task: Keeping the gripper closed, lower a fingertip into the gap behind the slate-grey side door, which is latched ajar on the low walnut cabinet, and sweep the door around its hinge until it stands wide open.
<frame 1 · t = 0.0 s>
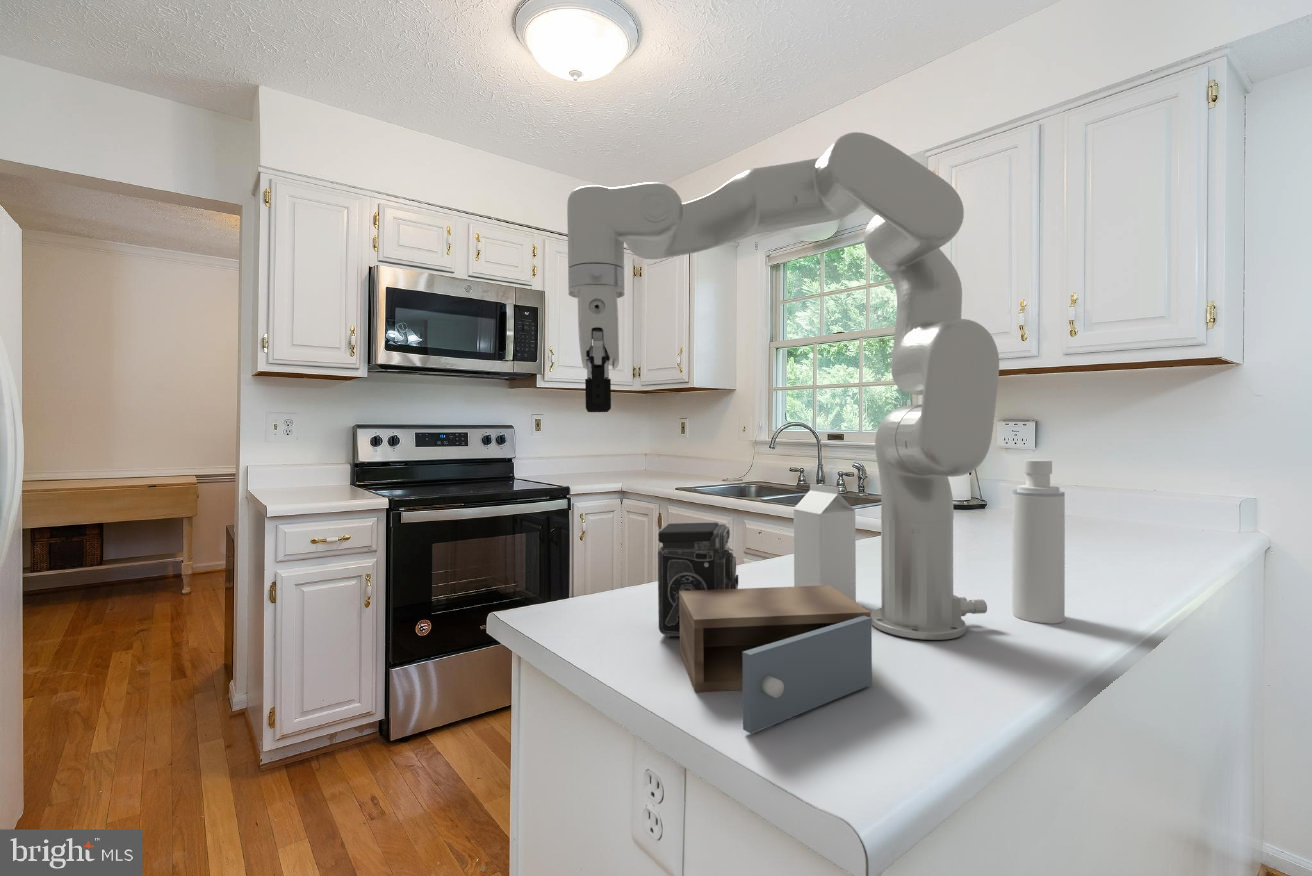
hand: (598, 411, 85), 31 cm above the counter, fingers open, 9 cm apart
side door: (817, 671, 64), point 4 cm above the counter, hinge at 30.0°
spray bottle: (1037, 618, 94), on the counter
camera: (700, 633, 89), on the counter
milk carton: (824, 601, 105), on the counter
cabinet: (769, 667, 76), on the counter
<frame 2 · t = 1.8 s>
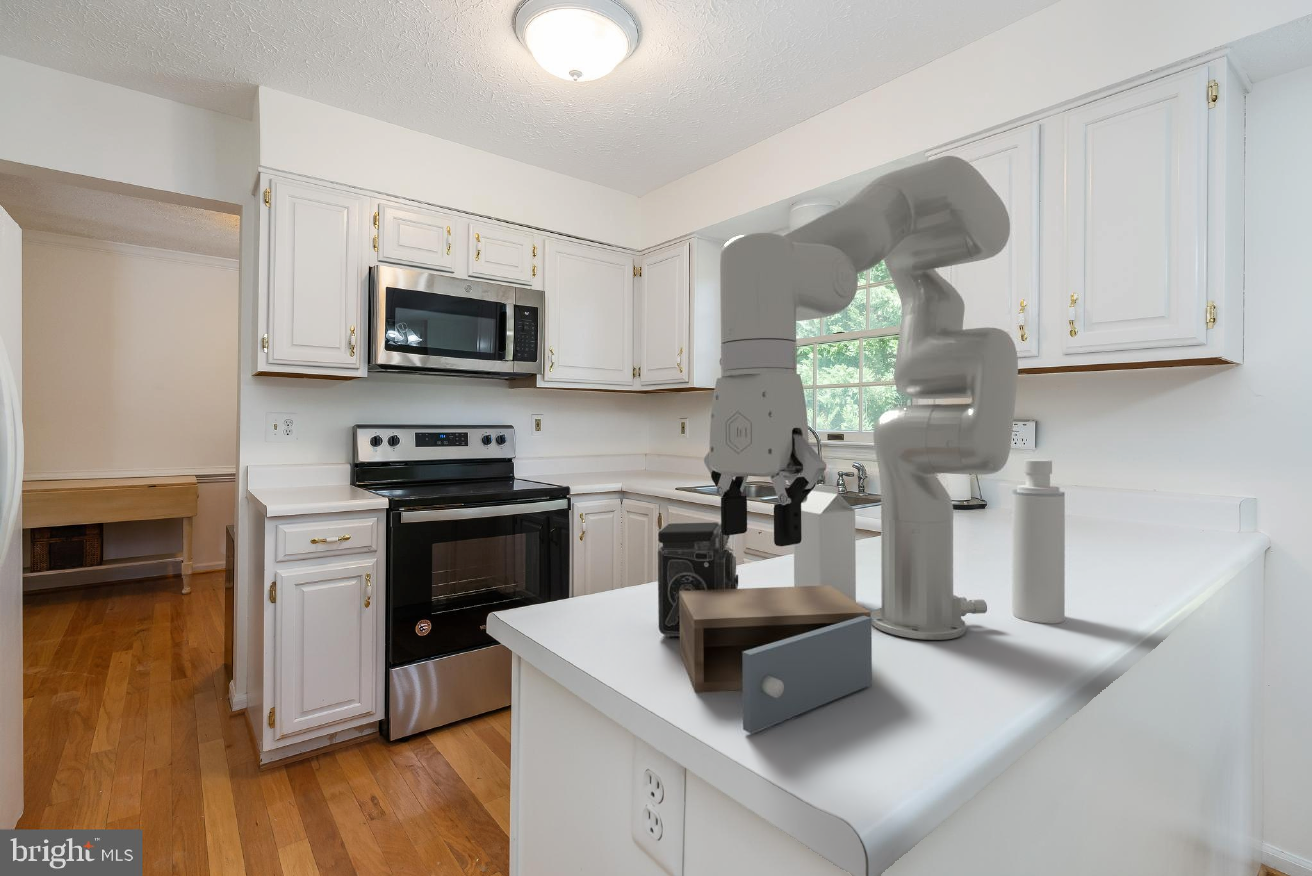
hand: (759, 537, 64), 18 cm above the counter, fingers open, 6 cm apart
nothing on the counter moved.
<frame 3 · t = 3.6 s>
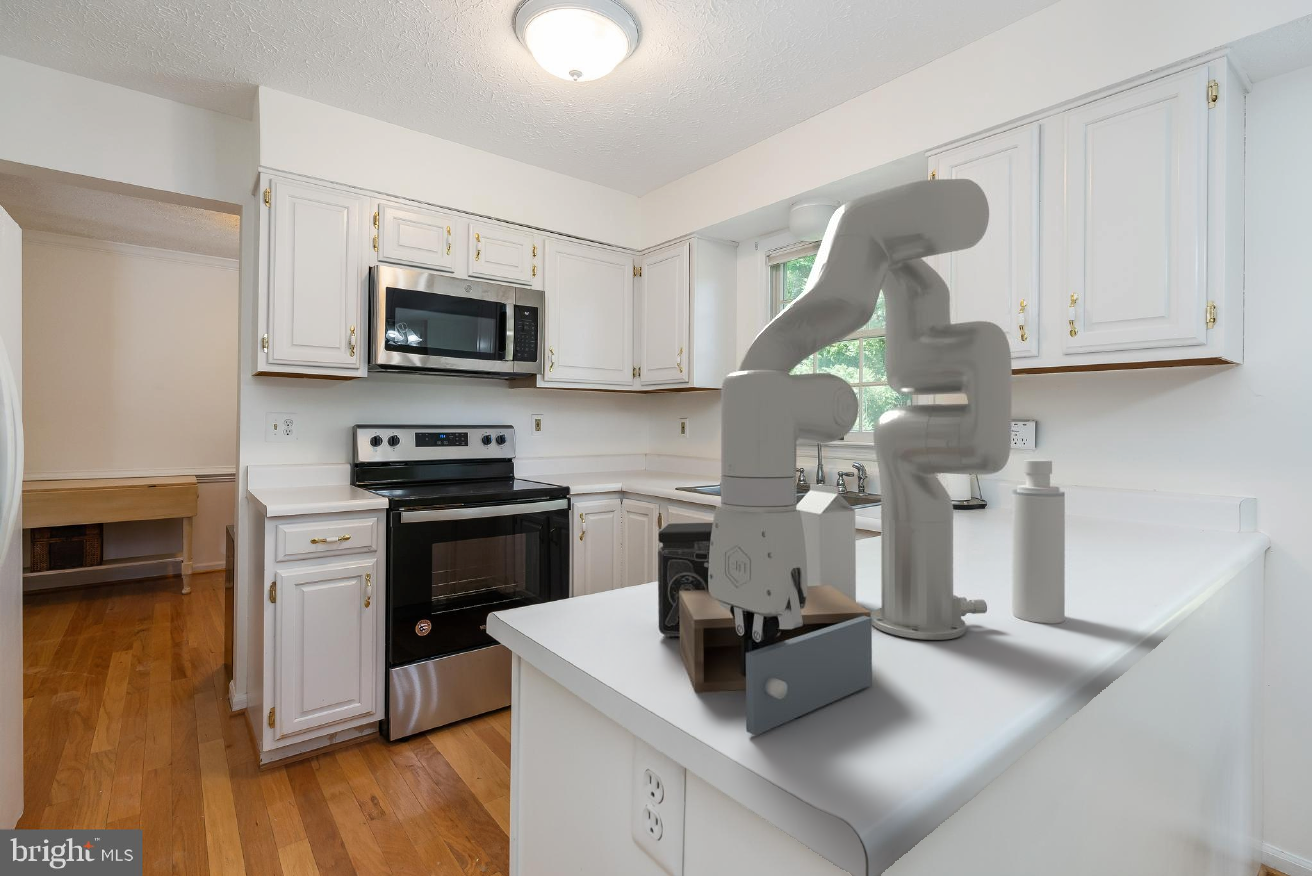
hand: (757, 675, 64), 4 cm above the counter, fingers closed
side door: (819, 672, 64), point 4 cm above the counter, hinge at 31.4°, touching gripper
everything else where it was.
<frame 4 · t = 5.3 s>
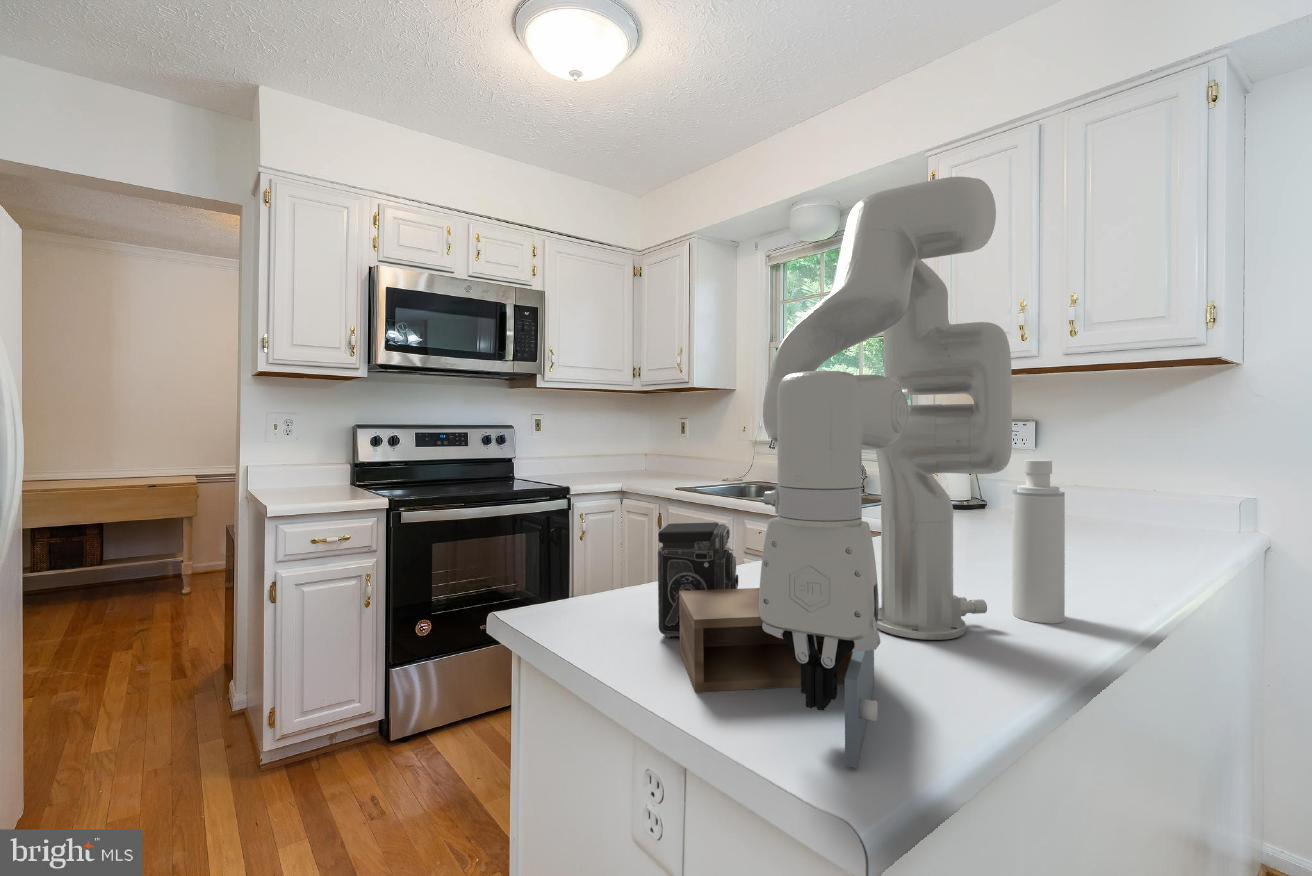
hand: (819, 703, 58), 3 cm above the counter, fingers closed
side door: (868, 682, 61), point 4 cm above the counter, hinge at 61.3°, touching gripper
everything else where it was.
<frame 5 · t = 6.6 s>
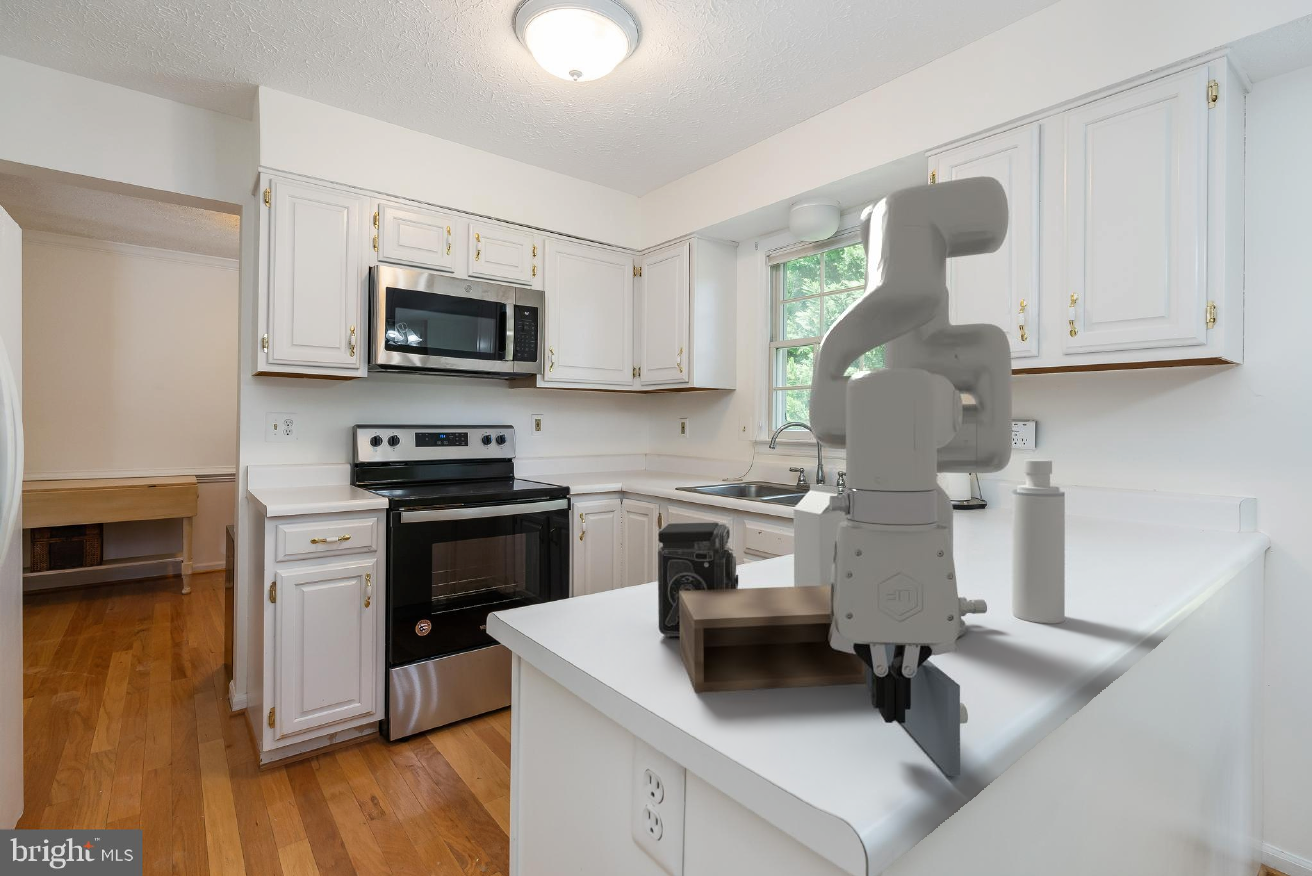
hand: (890, 715, 56), 3 cm above the counter, fingers closed
side door: (913, 684, 61), point 4 cm above the counter, hinge at 86.1°, touching gripper
everything else where it was.
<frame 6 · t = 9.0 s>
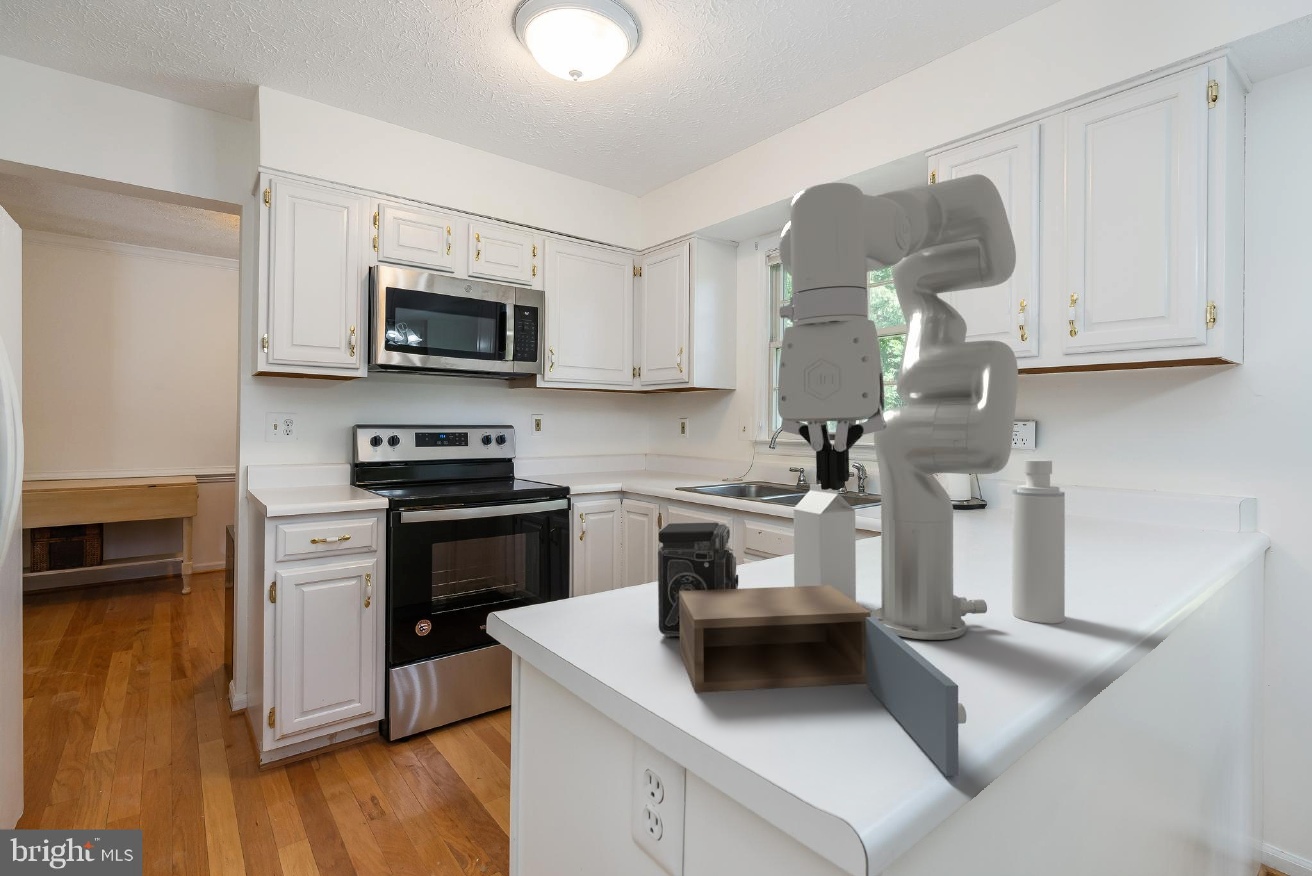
hand: (833, 487, 66), 22 cm above the counter, fingers closed
side door: (912, 684, 61), point 4 cm above the counter, hinge at 85.7°
everything else where it was.
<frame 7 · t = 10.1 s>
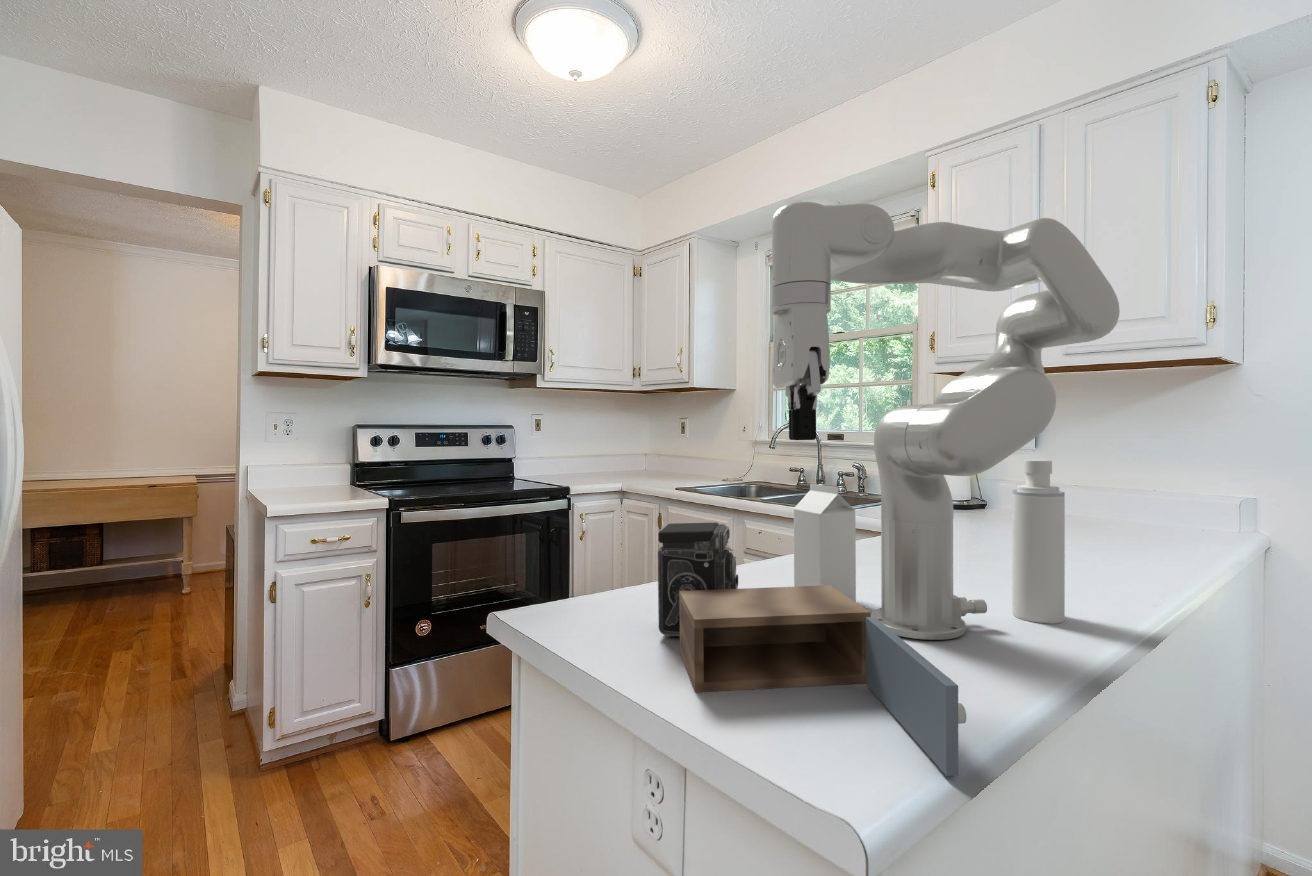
hand: (802, 439, 84), 27 cm above the counter, fingers closed
nothing on the counter moved.
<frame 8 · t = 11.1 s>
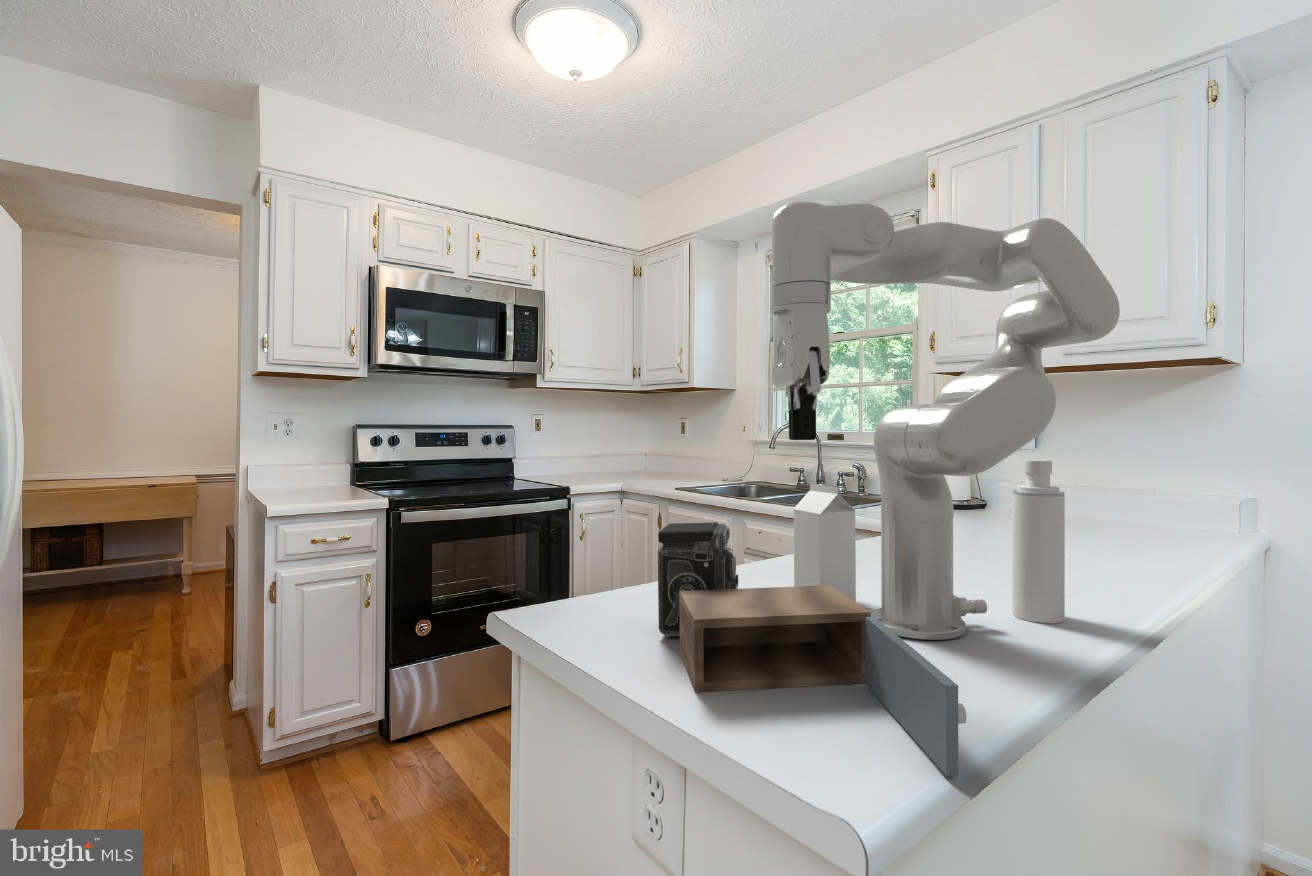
hand: (802, 439, 84), 27 cm above the counter, fingers closed
nothing on the counter moved.
at the end: side door at +86° (first picture: +30°) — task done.
